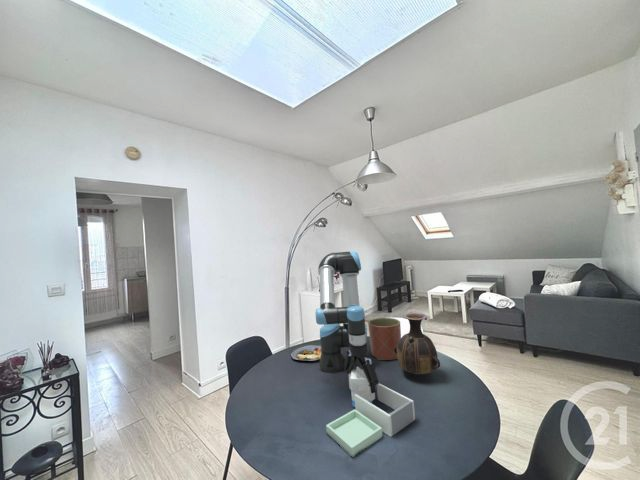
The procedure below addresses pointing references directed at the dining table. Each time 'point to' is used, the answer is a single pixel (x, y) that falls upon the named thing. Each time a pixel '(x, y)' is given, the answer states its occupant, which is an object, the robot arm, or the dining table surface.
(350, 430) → the tray
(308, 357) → the food plate
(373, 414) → the dock
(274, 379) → the dining table surface
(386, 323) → the planter
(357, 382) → the ink box
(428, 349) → the vase
